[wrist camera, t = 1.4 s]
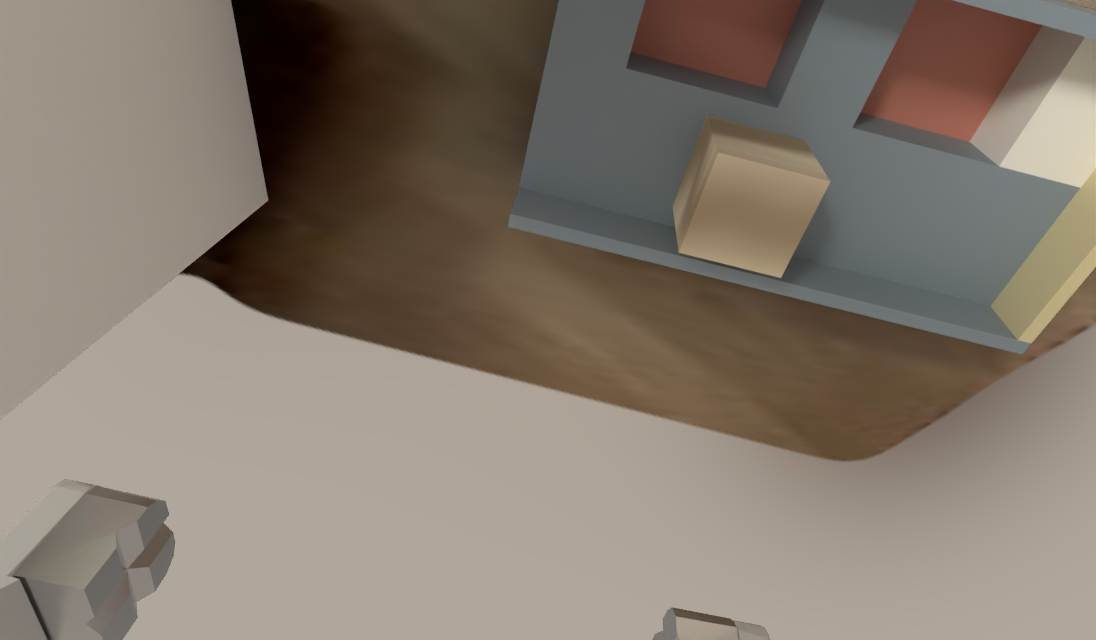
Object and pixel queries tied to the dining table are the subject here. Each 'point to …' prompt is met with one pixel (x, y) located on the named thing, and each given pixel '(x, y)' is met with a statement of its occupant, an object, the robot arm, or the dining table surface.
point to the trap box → (840, 146)
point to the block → (747, 196)
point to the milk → (111, 166)
